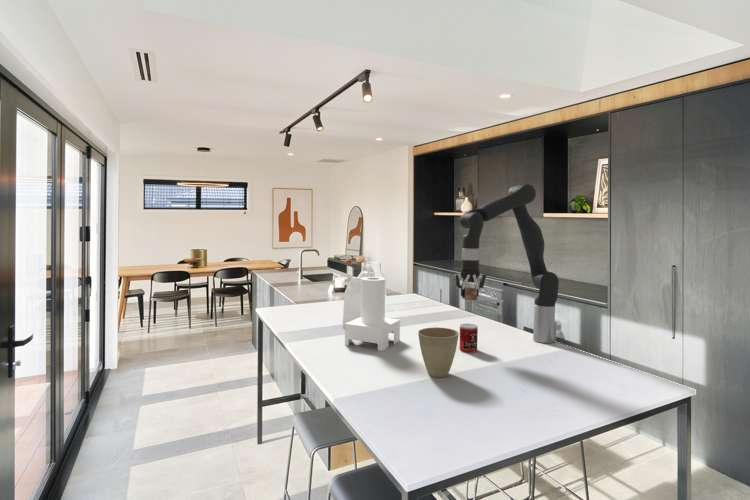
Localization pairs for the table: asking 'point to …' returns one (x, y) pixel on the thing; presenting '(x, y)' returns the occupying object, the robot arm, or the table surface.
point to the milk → (352, 300)
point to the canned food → (468, 338)
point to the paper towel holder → (372, 316)
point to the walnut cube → (470, 293)
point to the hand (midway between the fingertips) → (469, 297)
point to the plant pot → (438, 349)
